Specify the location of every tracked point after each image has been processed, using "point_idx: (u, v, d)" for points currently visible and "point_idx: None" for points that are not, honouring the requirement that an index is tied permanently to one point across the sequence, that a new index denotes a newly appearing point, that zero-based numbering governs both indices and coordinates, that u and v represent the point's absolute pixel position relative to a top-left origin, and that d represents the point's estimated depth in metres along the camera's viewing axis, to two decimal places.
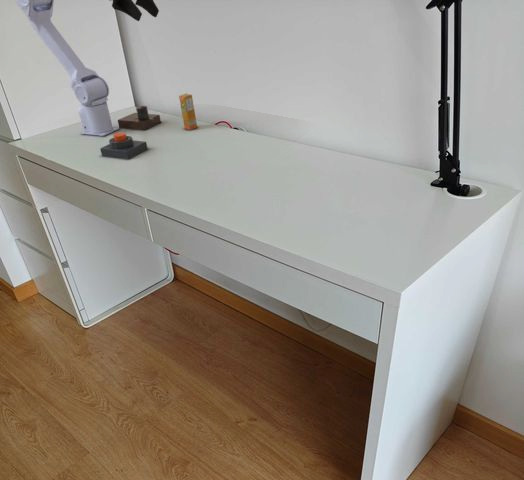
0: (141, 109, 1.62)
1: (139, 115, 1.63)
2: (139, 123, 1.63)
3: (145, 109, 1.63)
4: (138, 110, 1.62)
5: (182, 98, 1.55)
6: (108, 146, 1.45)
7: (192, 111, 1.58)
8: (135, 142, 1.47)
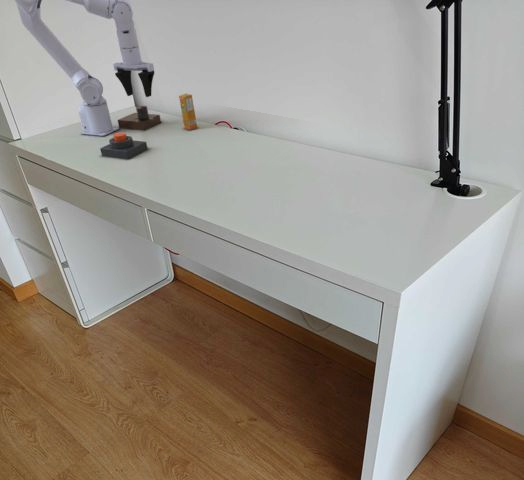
0: (141, 109, 1.62)
1: (139, 115, 1.63)
2: (139, 123, 1.63)
3: (145, 109, 1.63)
4: (138, 110, 1.62)
5: (182, 98, 1.55)
6: (108, 146, 1.45)
7: (192, 111, 1.58)
8: (135, 142, 1.47)
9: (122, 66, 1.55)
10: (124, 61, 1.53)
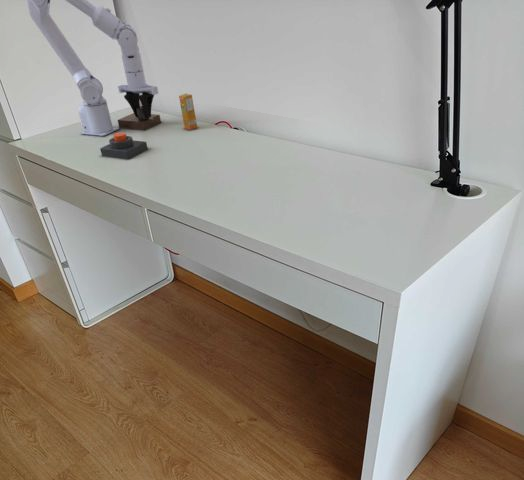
0: (141, 109, 1.62)
1: (139, 115, 1.63)
2: (139, 123, 1.63)
3: None
4: (138, 110, 1.62)
5: (182, 98, 1.55)
6: (108, 146, 1.45)
7: (192, 111, 1.58)
8: (135, 142, 1.47)
9: (127, 89, 1.59)
10: (129, 84, 1.57)
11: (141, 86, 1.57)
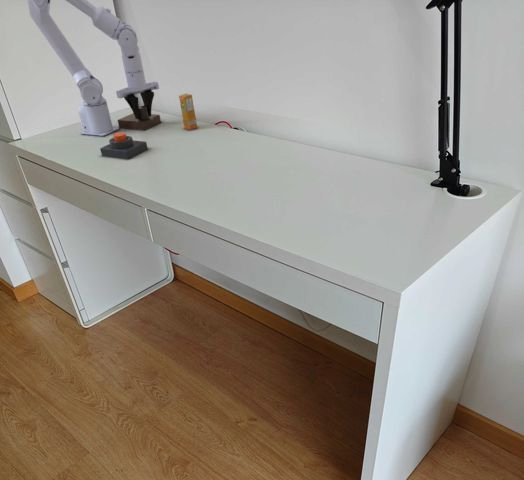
0: (146, 108, 1.63)
1: (145, 114, 1.64)
2: (139, 123, 1.63)
3: None
4: (144, 109, 1.63)
5: (182, 98, 1.55)
6: (108, 146, 1.45)
7: (192, 111, 1.58)
8: (135, 142, 1.47)
9: (135, 90, 1.57)
10: (139, 84, 1.57)
11: (145, 84, 1.60)
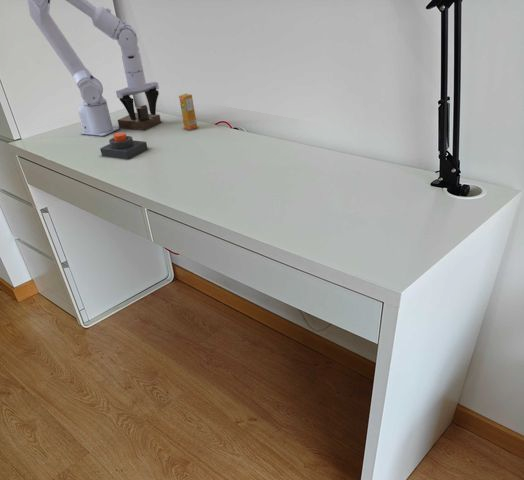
0: (146, 108, 1.63)
1: (145, 114, 1.64)
2: (139, 123, 1.63)
3: None
4: (144, 109, 1.63)
5: (182, 98, 1.55)
6: (108, 146, 1.45)
7: (192, 111, 1.58)
8: (135, 142, 1.47)
9: (135, 90, 1.57)
10: (138, 84, 1.57)
11: (145, 84, 1.60)
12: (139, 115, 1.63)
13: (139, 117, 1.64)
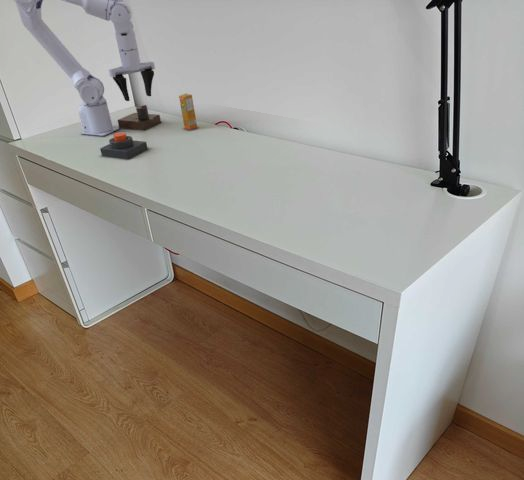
0: (146, 108, 1.63)
1: (145, 114, 1.64)
2: (139, 123, 1.63)
3: None
4: (144, 109, 1.63)
5: (182, 98, 1.55)
6: (108, 146, 1.45)
7: (192, 111, 1.58)
8: (135, 142, 1.47)
9: (128, 69, 1.52)
10: (132, 63, 1.52)
11: (140, 63, 1.55)
12: (139, 115, 1.63)
13: (139, 117, 1.64)
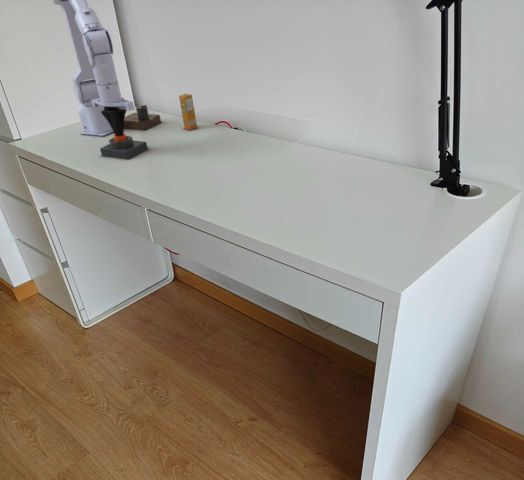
0: (146, 108, 1.63)
1: (145, 114, 1.64)
2: (139, 123, 1.63)
3: None
4: (144, 109, 1.63)
5: (182, 98, 1.55)
6: (108, 146, 1.45)
7: (192, 111, 1.58)
8: (135, 142, 1.47)
9: (99, 103, 1.37)
10: (101, 98, 1.35)
11: (115, 101, 1.35)
12: (139, 115, 1.63)
13: (139, 117, 1.64)
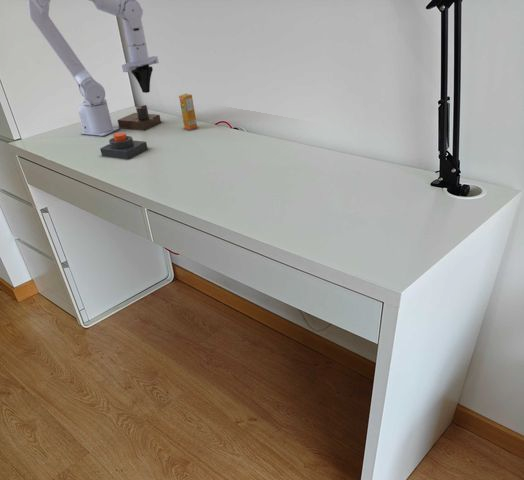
0: (146, 108, 1.63)
1: (145, 114, 1.64)
2: (139, 123, 1.63)
3: None
4: (144, 109, 1.63)
5: (182, 98, 1.55)
6: (108, 146, 1.45)
7: (192, 111, 1.58)
8: (135, 142, 1.47)
9: (140, 63, 1.57)
10: (143, 57, 1.57)
11: None
12: (139, 115, 1.63)
13: (139, 117, 1.64)
